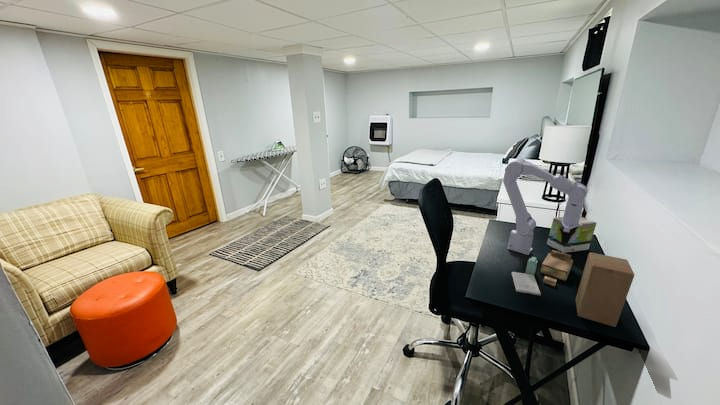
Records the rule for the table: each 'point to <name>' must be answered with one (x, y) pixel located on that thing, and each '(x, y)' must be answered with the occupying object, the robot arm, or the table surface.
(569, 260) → the lid
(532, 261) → the teal stepped block
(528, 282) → the external hard drive
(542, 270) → the tan shallow box
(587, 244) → the tea box
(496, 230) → the table surface
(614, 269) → the wooden block
